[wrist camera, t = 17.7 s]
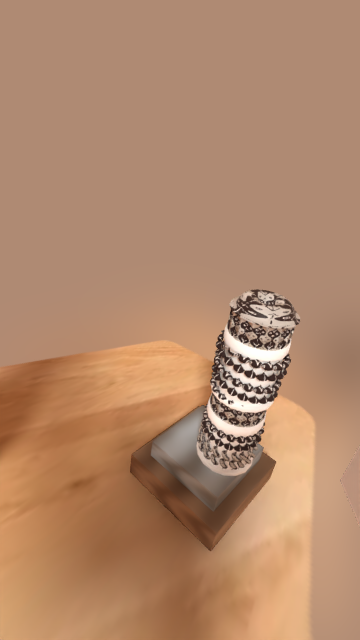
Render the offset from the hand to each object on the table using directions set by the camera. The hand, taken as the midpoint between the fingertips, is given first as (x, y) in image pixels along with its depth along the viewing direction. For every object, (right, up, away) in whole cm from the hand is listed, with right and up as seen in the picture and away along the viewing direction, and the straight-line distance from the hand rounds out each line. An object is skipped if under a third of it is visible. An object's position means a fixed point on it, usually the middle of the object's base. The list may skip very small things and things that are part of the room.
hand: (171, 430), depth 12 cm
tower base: (+4, -21, +43) cm, 48 cm away
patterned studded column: (+7, -16, +39) cm, 42 cm away
